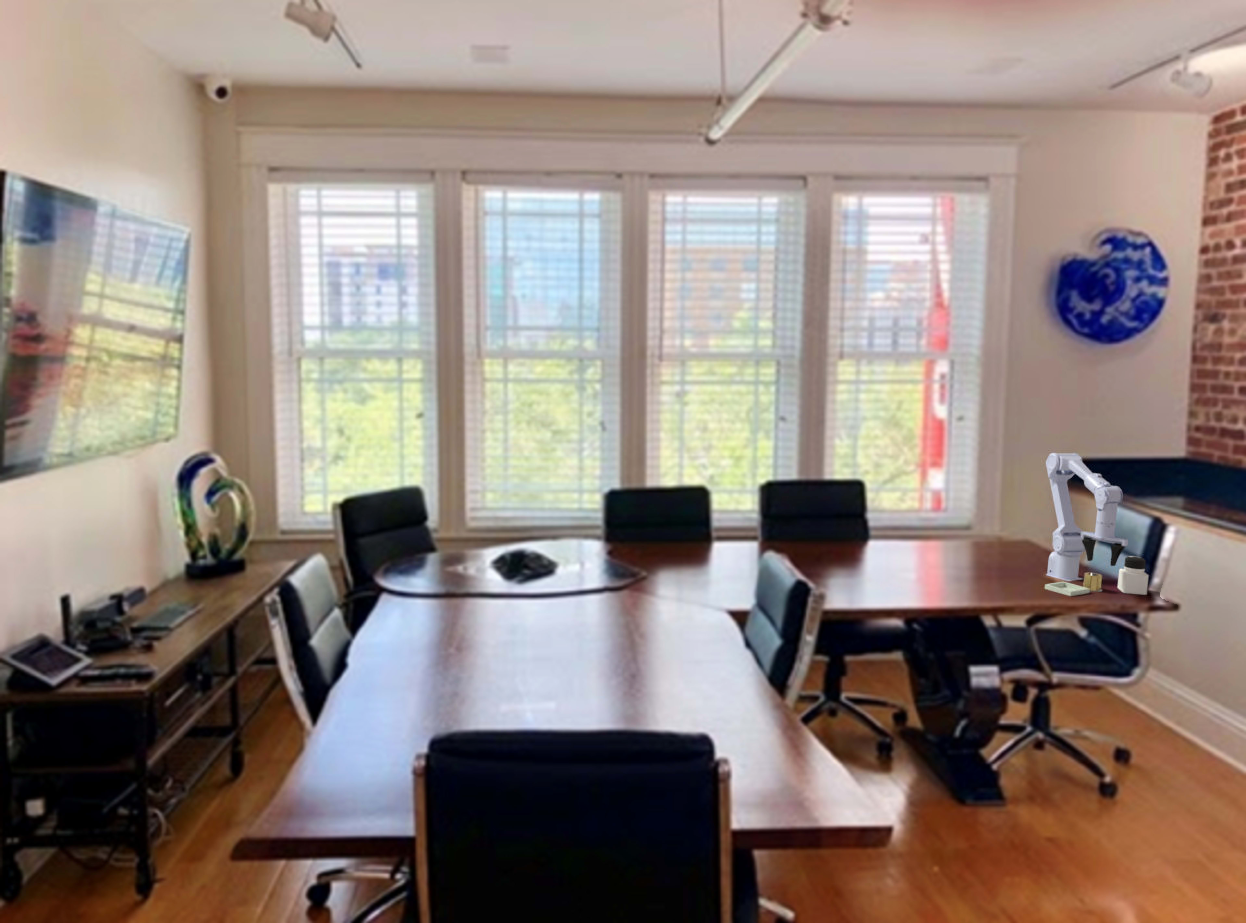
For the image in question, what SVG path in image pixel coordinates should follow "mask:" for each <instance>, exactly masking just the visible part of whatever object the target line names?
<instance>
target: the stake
mask: <svg viewBox="0 0 1246 923" xmlns="http://www.w3.org/2000/svg"><path fill="white" fill-rule="evenodd" d="M1090 575H1093V576H1096V572H1090ZM1091 592H1094V593H1096V592H1097V593H1100V592H1103V589H1102V588H1101V591H1091Z"/></svg>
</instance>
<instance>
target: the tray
mask: <svg viewBox="0 0 1246 923" xmlns="http://www.w3.org/2000/svg"><path fill="white" fill-rule="evenodd" d="M1044 589H1045V590H1048V591H1050V592H1055V593H1058V594H1062V595H1065V596H1068V597H1073V596H1074V597H1075V596H1079V595H1080V596H1081V595H1085V594H1090V592H1091V591H1090V589H1089V588H1085V587H1083V586H1081V585H1077V584H1075V583H1070V582H1068V581H1059V582H1053V583H1046V584H1044Z"/></svg>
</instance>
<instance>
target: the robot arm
mask: <svg viewBox="0 0 1246 923" xmlns="http://www.w3.org/2000/svg"><path fill="white" fill-rule="evenodd" d="M1045 466H1046V471H1047V477H1048V479H1049V483H1050V489H1051V494H1052V499H1053V505H1054V510H1055V515H1056V516H1055V517H1056V520H1057V521H1056V522H1057V526H1058V527H1057V528H1056V529H1055V530H1054V531H1053V532H1052V548H1053V550H1054V551H1052V552H1051V553H1050V554H1049V556H1048V560H1047V562H1048V563H1047V573H1046V574H1045V575H1046V576H1049V577H1052V578H1055V579H1059V580H1063V581H1065V582H1074V581H1080V580H1084V577H1083V578H1082V577H1079V569H1080V560H1081V556H1082V555H1083V553H1084V552H1086V553H1085V554H1086V558H1087V559H1086V560H1087V561H1088V562H1092V561H1093V559H1094V550H1095V546H1096V542H1097V541H1100V542H1104V543H1109V544H1110V551H1111V552H1110V554H1111V555H1110V556H1111V557H1110V567H1115V566H1117V562H1118V560H1119V557H1120V555H1121V554H1122V552H1123V551H1124V550H1125V548H1126V547H1127V546H1128V545H1129V540H1128V539H1126V538H1122V537H1118V536H1115V530H1116V523H1117V514H1118V513H1117V512H1118V505H1119V504H1120V503H1121V502H1122V501H1123V497H1124V496H1123V495H1124V494H1123V491H1122V489H1121V488H1120V486H1117V485H1111V483H1110V482H1109V481H1107V479H1105V478H1103V475H1102V474H1101V473H1096V472H1092V470H1090V469H1089V467H1087V466H1086V464H1085V463H1084V462H1083V457H1082V456H1080V455H1079V454H1078V453H1076V452H1073V453H1066V452H1065V453H1059V452H1058V453H1056V452H1051V453H1049V455H1048V457H1047V459H1046V460H1045ZM1074 475H1077V476H1078V477H1079V478H1080V479H1082V480H1083V483H1084V486H1085V487H1086V488H1087V489H1088V490H1089V491H1090V492H1091V493H1092V494H1093V495H1094V500H1095V506H1096V509H1097V512H1096V519H1095V521H1096V522H1095V530H1094V532H1091V531H1084V530H1082V528H1080V527H1079V526H1077V525H1076V523H1075V518H1074V512H1073V506H1072V502H1071V497H1070V492H1069V487H1068V481H1069V480H1070V479H1071V478H1072V477H1073V476H1074ZM1111 544H1112V545H1111Z"/></svg>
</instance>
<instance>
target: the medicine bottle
mask: <svg viewBox="0 0 1246 923" xmlns="http://www.w3.org/2000/svg"><path fill="white" fill-rule="evenodd" d="M1146 562H1147V561H1146V559H1144V558H1143V557H1140V556H1134V555H1131V556H1130V555H1129V556H1126V557H1125V558H1124V566H1123V568H1119V571H1118V577H1117V578H1118V579H1117V589H1118V590H1119V591H1121V592H1122V593H1123V594H1131V595H1132V594H1133V595H1144V596H1145V595H1146V596H1147V595H1148V587H1149V577H1150V575H1149V574H1147V573H1146V572H1145V570H1146Z"/></svg>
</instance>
